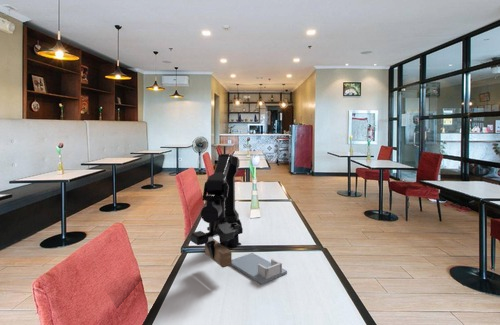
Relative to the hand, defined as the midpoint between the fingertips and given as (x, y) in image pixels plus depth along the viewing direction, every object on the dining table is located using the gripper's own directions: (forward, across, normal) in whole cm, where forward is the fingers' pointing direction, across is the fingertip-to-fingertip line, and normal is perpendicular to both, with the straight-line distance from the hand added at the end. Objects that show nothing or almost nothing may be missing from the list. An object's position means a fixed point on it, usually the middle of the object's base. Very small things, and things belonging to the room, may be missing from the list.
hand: (217, 256), depth 112 cm
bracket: (+6, +13, -6) cm, 16 cm away
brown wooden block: (+1, 0, 0) cm, 1 cm away
